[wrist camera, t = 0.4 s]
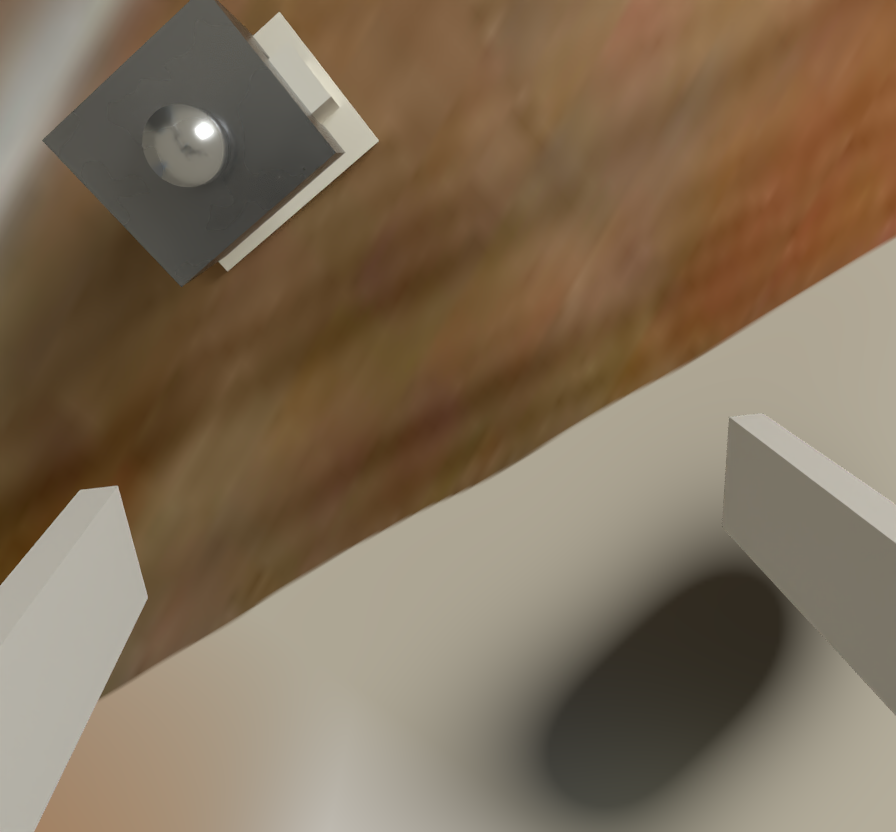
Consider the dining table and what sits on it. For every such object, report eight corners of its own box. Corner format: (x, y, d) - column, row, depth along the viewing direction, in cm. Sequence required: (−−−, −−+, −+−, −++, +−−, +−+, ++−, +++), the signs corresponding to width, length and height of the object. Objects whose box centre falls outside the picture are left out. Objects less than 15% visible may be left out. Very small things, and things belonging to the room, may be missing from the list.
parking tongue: (127, 156, 35) (60, 157, 28) (281, 14, 34) (254, -25, 26) (230, 269, 37) (194, 298, 30) (378, 140, 36) (379, 137, 29)
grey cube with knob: (123, 143, 30) (25, 139, 22) (247, 29, 29) (194, -22, 21) (226, 255, 32) (172, 293, 24) (345, 152, 31) (334, 152, 23)
